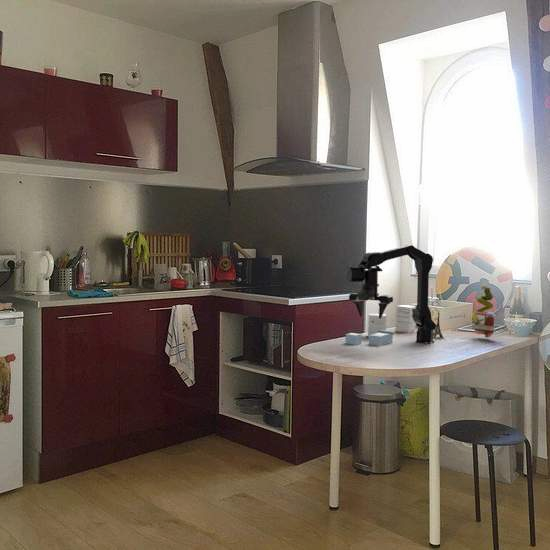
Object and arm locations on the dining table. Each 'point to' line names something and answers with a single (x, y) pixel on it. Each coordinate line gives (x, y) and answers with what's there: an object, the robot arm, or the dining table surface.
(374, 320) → the small box
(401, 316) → the white tall block
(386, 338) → the blue notched block
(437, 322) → the eiffel tower figurine
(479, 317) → the prank snake can
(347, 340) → the light blue block
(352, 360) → the dining table surface
